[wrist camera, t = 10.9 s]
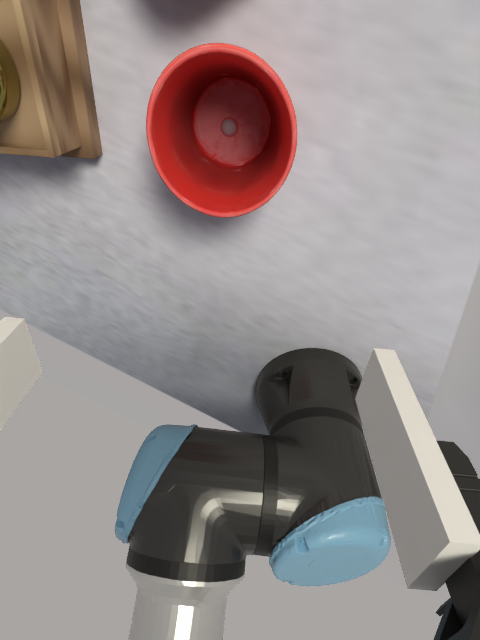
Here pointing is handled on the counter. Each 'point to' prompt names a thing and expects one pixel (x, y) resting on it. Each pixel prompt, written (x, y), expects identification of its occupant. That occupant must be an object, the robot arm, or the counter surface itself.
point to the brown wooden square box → (49, 81)
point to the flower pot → (221, 129)
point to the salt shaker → (8, 85)
